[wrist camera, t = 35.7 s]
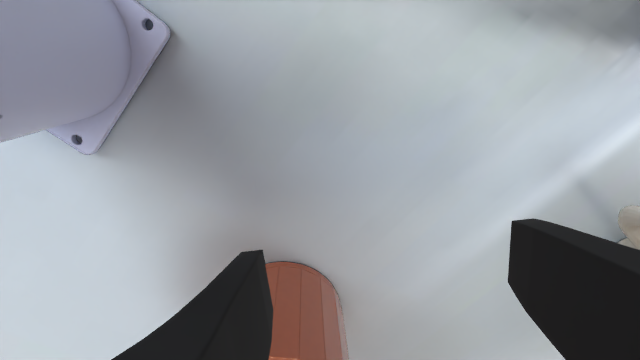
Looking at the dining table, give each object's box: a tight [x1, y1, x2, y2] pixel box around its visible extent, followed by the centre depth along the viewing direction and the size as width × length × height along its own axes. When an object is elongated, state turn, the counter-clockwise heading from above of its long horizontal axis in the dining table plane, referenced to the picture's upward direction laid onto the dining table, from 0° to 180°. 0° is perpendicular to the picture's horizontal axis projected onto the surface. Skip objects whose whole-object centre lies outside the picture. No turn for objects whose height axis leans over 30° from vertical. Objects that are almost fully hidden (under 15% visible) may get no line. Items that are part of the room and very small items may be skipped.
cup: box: [265, 262, 349, 360], centre depth 20 cm, size 7×7×8 cm
